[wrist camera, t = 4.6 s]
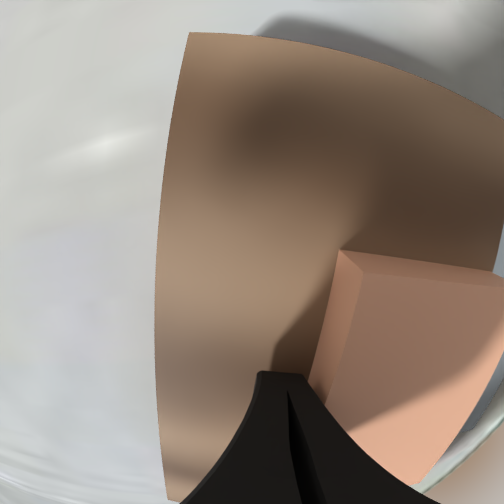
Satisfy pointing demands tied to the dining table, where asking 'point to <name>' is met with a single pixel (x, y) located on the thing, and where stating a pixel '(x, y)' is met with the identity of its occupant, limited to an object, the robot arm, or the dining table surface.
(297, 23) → the dining table surface
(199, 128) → the brown wooden block
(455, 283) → the tile
